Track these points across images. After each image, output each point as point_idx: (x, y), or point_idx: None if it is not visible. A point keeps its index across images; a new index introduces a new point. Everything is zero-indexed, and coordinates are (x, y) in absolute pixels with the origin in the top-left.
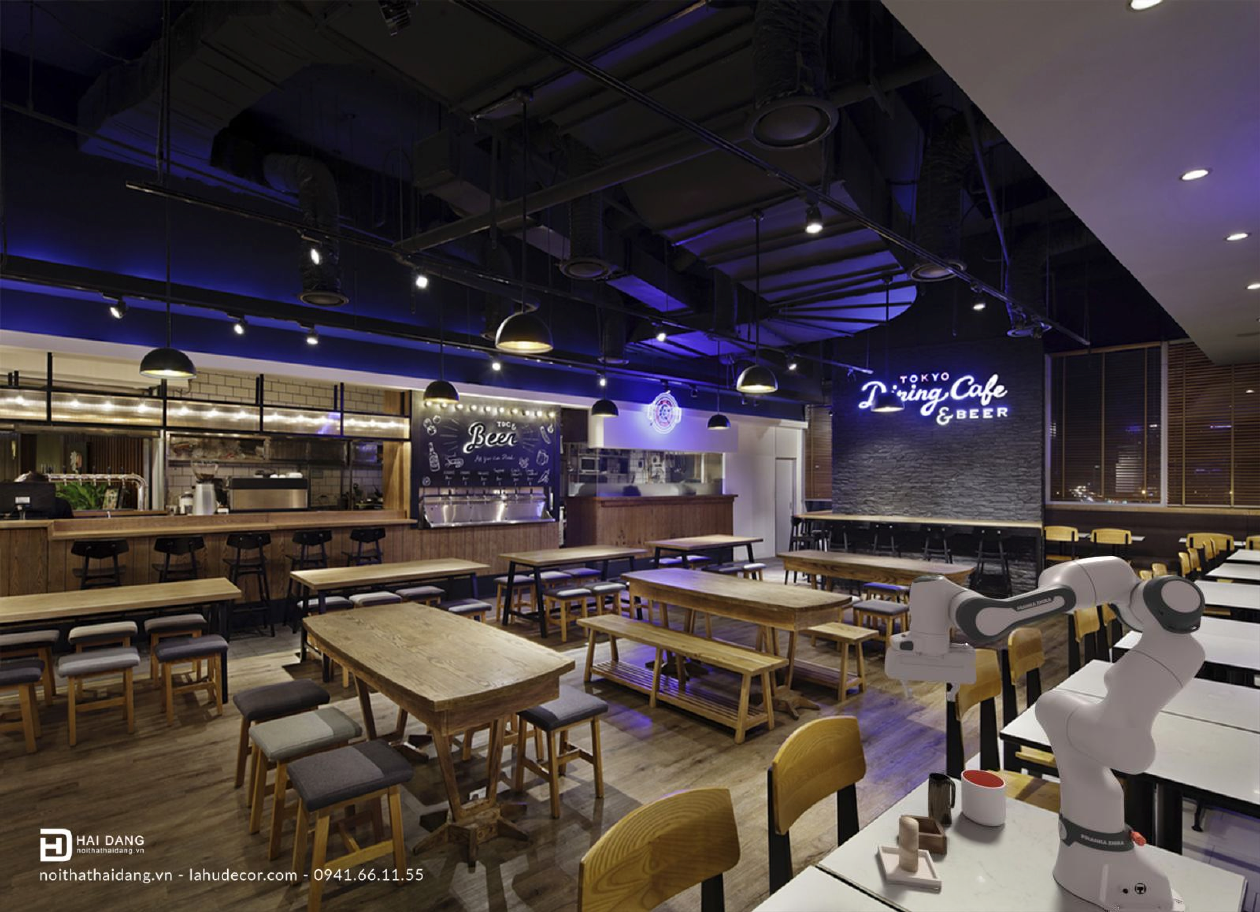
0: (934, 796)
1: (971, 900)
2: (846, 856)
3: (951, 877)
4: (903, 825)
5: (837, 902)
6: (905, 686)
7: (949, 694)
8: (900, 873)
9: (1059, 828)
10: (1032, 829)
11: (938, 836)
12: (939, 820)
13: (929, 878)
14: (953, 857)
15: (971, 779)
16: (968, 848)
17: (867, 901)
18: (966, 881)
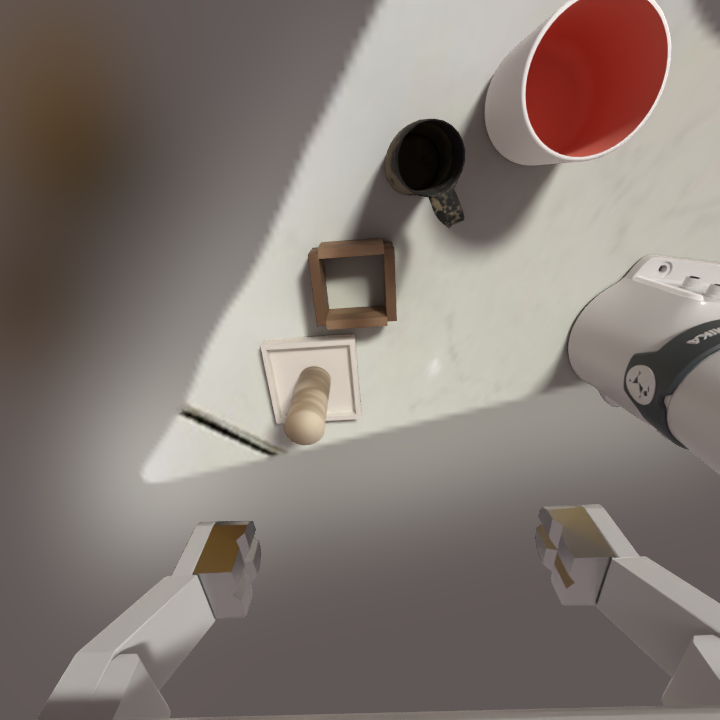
0: (401, 186)
1: (401, 422)
2: (210, 366)
3: (384, 376)
4: (293, 440)
5: (212, 470)
6: (160, 674)
7: (570, 602)
8: None
9: (640, 378)
10: (638, 137)
11: (379, 325)
12: (406, 193)
13: (343, 417)
14: (403, 316)
15: (566, 11)
16: (443, 275)
17: (252, 459)
18: (407, 380)
